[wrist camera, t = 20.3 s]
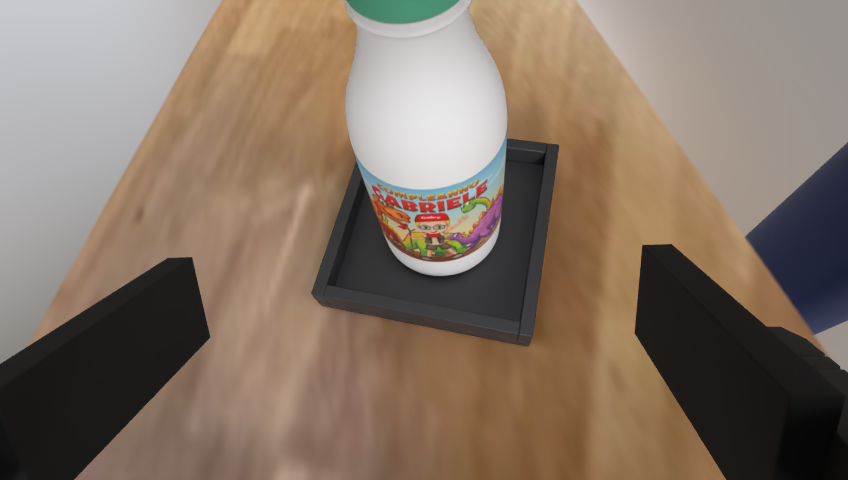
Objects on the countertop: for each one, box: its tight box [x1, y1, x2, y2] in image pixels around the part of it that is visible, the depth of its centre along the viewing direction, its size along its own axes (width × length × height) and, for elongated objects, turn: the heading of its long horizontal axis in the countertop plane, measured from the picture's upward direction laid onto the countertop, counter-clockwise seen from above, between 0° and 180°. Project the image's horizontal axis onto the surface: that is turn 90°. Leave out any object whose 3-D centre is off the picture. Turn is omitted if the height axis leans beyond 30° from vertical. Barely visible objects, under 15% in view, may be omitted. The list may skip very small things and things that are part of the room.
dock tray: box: [311, 139, 559, 346], centre depth 33 cm, size 14×14×2 cm
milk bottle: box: [344, 0, 507, 276], centre depth 24 cm, size 8×8×20 cm
